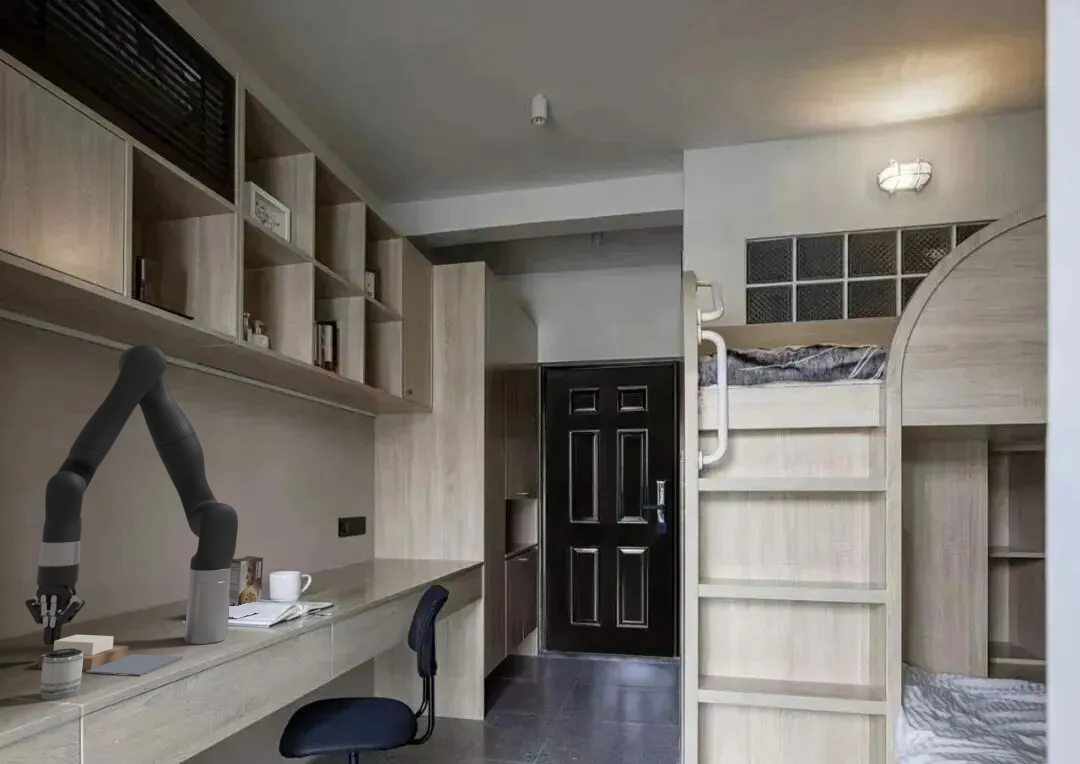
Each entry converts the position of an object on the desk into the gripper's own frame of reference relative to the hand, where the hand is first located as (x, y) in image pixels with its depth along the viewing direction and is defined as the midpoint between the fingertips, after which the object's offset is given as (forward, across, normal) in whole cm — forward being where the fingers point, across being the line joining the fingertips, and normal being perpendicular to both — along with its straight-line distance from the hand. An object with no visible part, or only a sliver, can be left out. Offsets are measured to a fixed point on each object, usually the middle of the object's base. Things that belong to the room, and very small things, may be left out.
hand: (51, 644), depth 153 cm
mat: (+4, -20, 0) cm, 21 cm away
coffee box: (+4, -13, -53) cm, 55 cm away
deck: (+4, -8, 0) cm, 9 cm away
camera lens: (+4, -20, +21) cm, 29 cm away
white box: (+1, -8, 0) cm, 8 cm away
